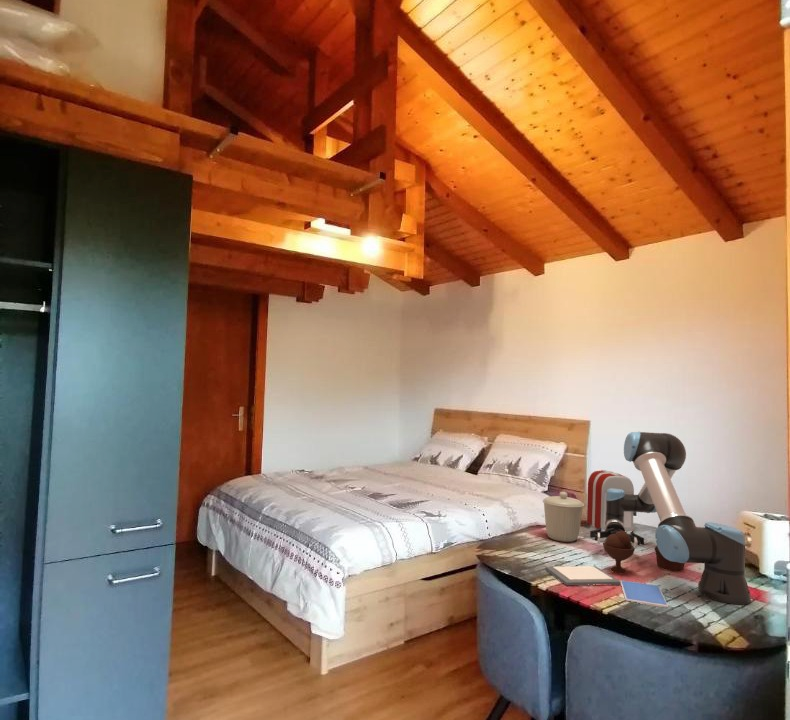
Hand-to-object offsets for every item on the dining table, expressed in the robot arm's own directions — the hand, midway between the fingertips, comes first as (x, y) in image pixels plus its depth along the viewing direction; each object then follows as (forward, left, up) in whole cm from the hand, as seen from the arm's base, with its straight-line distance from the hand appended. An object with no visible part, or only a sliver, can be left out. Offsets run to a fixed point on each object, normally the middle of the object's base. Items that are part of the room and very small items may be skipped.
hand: (617, 542), depth 212 cm
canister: (+34, +6, -8) cm, 35 cm away
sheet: (-14, +23, -7) cm, 28 cm away
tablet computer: (-30, +10, -9) cm, 33 cm away
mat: (-14, +23, -8) cm, 28 cm away
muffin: (-5, -19, -8) cm, 22 cm away
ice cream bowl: (-8, +5, -8) cm, 13 cm away
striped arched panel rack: (+55, -30, -8) cm, 63 cm away
